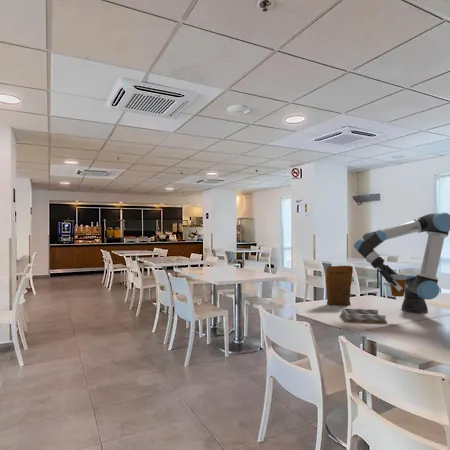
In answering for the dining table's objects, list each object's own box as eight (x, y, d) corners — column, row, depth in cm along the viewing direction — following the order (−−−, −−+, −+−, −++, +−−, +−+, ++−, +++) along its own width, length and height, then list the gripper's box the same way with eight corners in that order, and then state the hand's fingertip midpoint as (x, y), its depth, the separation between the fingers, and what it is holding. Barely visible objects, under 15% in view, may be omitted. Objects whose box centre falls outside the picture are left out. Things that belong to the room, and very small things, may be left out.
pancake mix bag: (354, 306, 237) (354, 266, 238) (325, 305, 240) (325, 265, 241) (351, 304, 244) (351, 265, 245) (324, 303, 247) (324, 264, 247)
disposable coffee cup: (409, 297, 196) (408, 276, 196) (391, 296, 198) (390, 276, 198) (404, 294, 205) (403, 274, 206) (387, 294, 207) (386, 274, 208)
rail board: (378, 316, 210) (378, 309, 210) (386, 323, 193) (386, 315, 193) (340, 314, 213) (340, 307, 214) (346, 321, 197) (346, 314, 197)
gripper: (377, 263, 221) (404, 290, 209) (363, 265, 205) (392, 295, 193) (385, 255, 217) (414, 282, 206) (372, 256, 201) (402, 286, 190)
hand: (403, 288), depth 200 cm, fingers closed on disposable coffee cup, 9 cm apart
